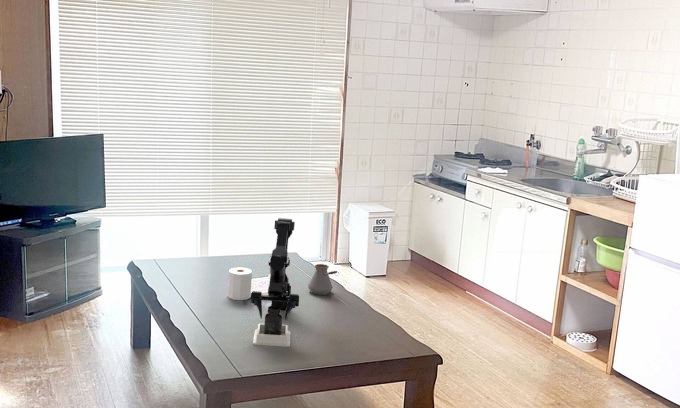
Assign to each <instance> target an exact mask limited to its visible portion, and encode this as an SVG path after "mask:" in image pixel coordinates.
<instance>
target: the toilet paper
mask: <svg viewBox="0 0 680 408" xmlns="http://www.w3.org/2000/svg"><path fill="white" fill-rule="evenodd" d="M252 279H253V270H252V269H249V268H247V267H232V268H230V269H229V270H228V286H227V288H228V289H227V298H229V299H231V300H234V301H246V300H249V299H251V293H252Z"/></svg>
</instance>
